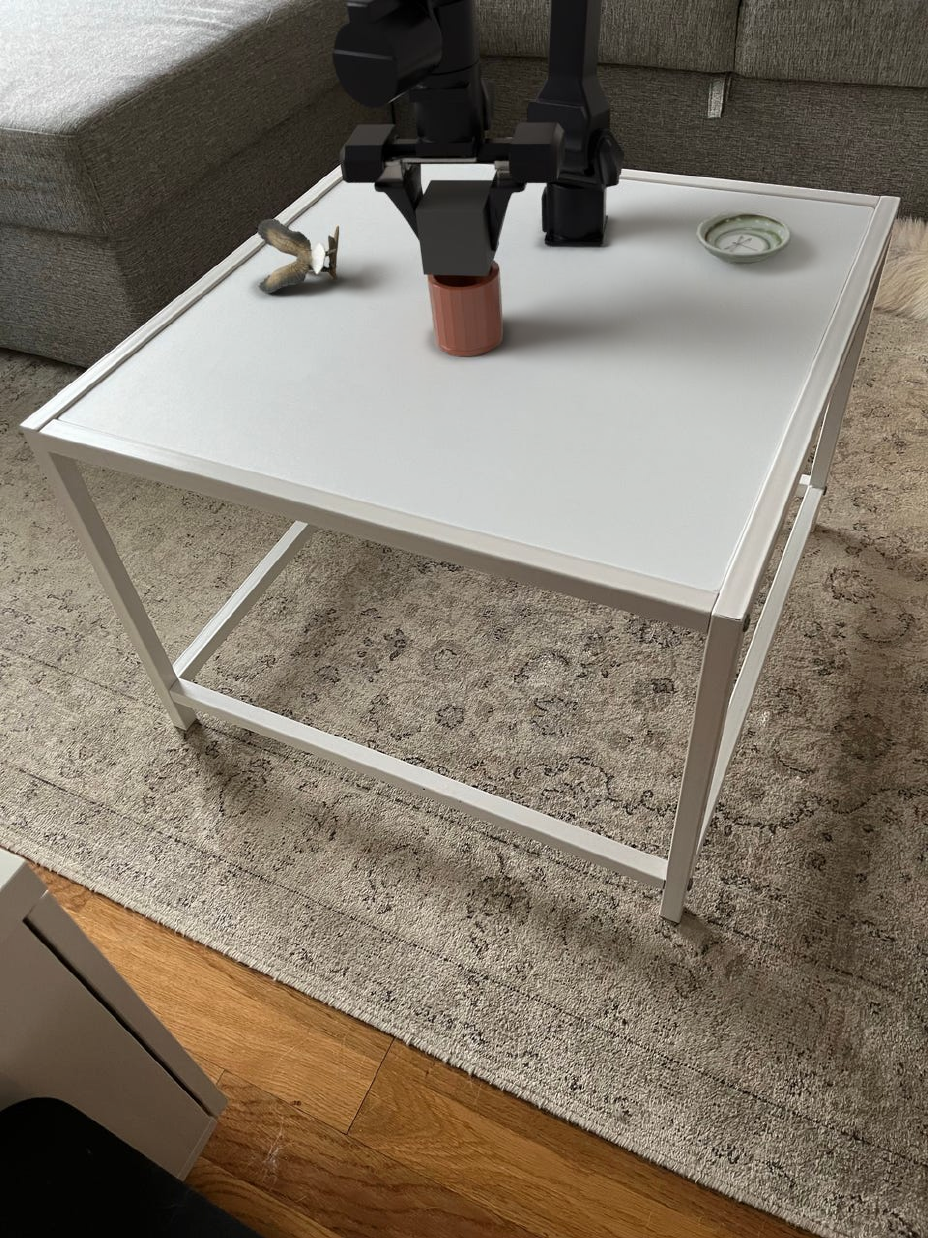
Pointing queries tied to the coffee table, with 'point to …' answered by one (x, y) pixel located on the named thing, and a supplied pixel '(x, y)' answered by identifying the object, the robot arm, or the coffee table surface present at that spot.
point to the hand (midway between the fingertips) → (461, 248)
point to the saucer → (743, 236)
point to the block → (455, 228)
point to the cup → (467, 312)
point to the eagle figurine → (301, 249)
